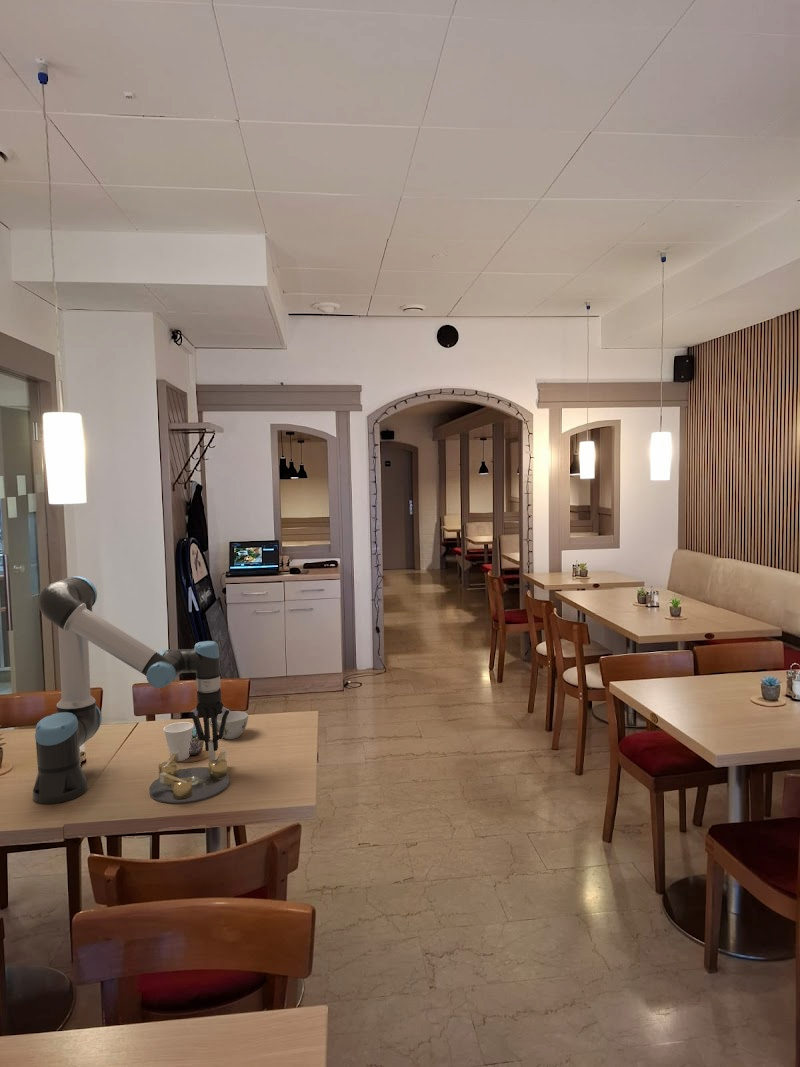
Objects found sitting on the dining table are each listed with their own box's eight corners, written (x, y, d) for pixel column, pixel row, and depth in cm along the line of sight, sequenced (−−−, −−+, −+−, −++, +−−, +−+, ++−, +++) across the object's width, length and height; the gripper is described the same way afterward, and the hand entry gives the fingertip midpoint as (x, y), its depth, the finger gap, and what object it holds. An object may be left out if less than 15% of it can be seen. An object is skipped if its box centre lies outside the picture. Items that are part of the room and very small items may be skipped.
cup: (186, 764, 236) (184, 732, 236) (159, 763, 238) (157, 731, 238) (200, 753, 246) (198, 722, 245) (174, 751, 248) (172, 721, 247)
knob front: (196, 793, 211) (195, 779, 211) (180, 800, 207) (179, 786, 206) (170, 783, 219) (169, 769, 219) (154, 790, 214) (153, 776, 214)
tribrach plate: (138, 805, 207) (138, 797, 207) (162, 771, 231) (161, 764, 231) (221, 801, 208) (220, 794, 208) (235, 768, 232) (235, 761, 232)
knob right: (225, 778, 222) (224, 764, 222) (207, 778, 222) (206, 765, 221) (232, 761, 235) (232, 749, 234) (215, 762, 234) (215, 749, 234)
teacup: (254, 731, 266) (254, 711, 265) (239, 744, 254) (238, 722, 253) (218, 729, 270) (217, 708, 269) (201, 741, 258) (200, 719, 257)
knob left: (175, 780, 221) (174, 766, 221) (156, 781, 221) (156, 767, 221) (185, 763, 234) (184, 750, 234) (168, 764, 234) (167, 751, 233)
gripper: (185, 693, 225) (189, 765, 227) (226, 692, 225) (230, 763, 227) (191, 686, 232) (194, 756, 234) (231, 685, 233) (234, 754, 235)
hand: (212, 760), depth 231 cm, fingers closed
